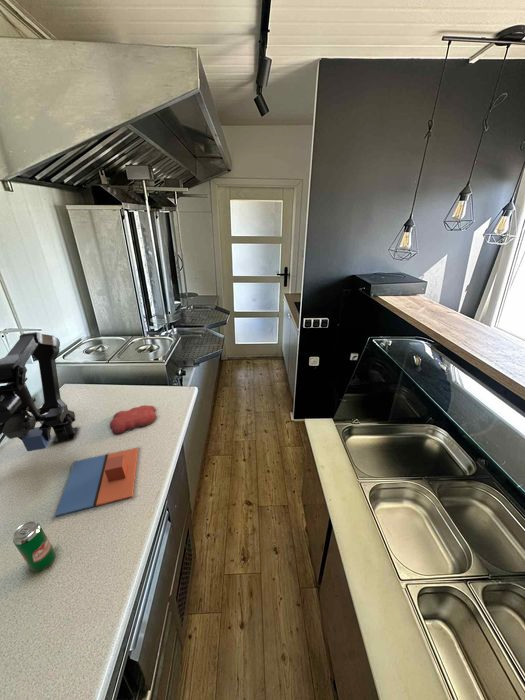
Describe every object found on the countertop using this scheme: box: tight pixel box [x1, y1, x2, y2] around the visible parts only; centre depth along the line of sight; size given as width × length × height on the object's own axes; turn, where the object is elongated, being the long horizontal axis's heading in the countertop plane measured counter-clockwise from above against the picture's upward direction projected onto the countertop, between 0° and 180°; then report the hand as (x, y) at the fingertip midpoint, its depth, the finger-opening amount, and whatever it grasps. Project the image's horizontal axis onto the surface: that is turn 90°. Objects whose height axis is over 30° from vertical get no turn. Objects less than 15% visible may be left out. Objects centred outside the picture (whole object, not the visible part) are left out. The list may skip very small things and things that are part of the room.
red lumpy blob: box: [109, 405, 157, 435], centre depth 116 cm, size 18×14×2 cm
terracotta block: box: [105, 455, 127, 482], centre depth 91 cm, size 5×5×5 cm
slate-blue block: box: [20, 426, 53, 452], centre depth 90 cm, size 5×5×5 cm
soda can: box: [12, 520, 56, 572], centre depth 67 cm, size 5×5×12 cm
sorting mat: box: [54, 447, 139, 517], centre depth 91 cm, size 20×20×1 cm
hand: (38, 441), depth 91 cm, fingers closed on slate-blue block, 5 cm apart
